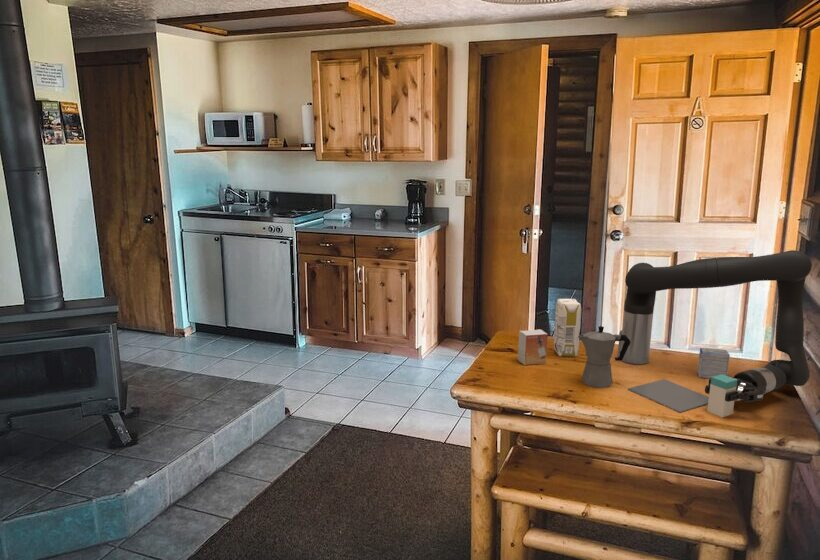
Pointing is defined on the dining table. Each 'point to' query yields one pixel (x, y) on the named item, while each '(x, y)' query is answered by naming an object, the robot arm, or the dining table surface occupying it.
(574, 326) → the juice carton
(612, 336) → the coffeepot
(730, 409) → the block
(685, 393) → the board
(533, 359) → the small box
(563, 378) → the dining table surface
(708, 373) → the medicine box
